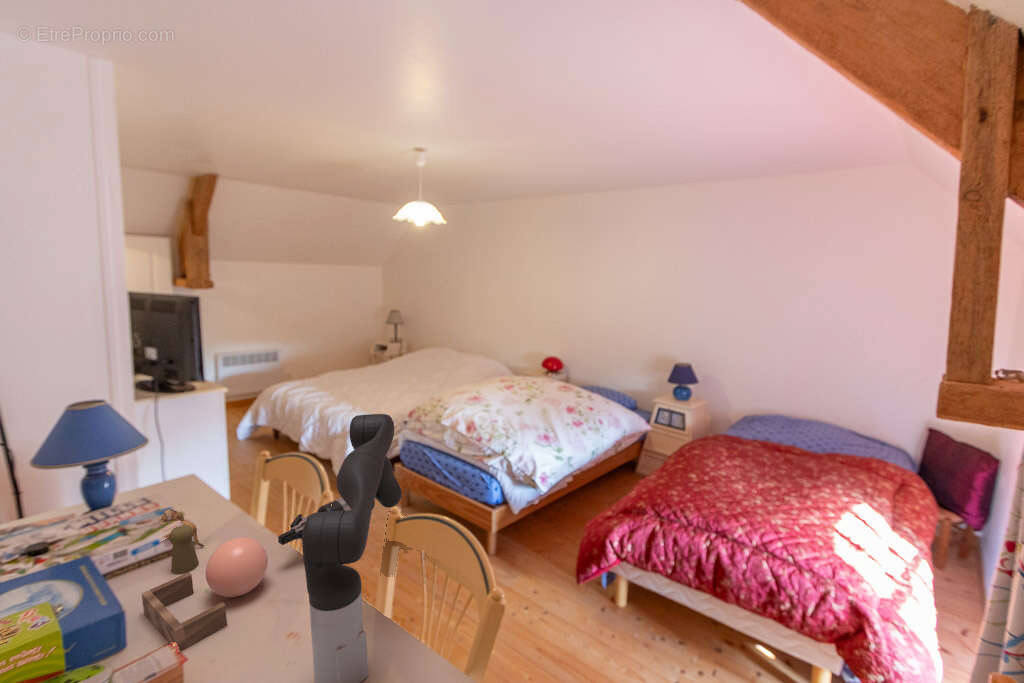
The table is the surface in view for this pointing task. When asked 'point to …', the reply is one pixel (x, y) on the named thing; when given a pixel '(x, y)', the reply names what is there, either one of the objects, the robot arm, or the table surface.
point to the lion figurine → (176, 516)
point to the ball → (236, 567)
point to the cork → (183, 550)
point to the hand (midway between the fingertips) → (279, 540)
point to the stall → (168, 624)
